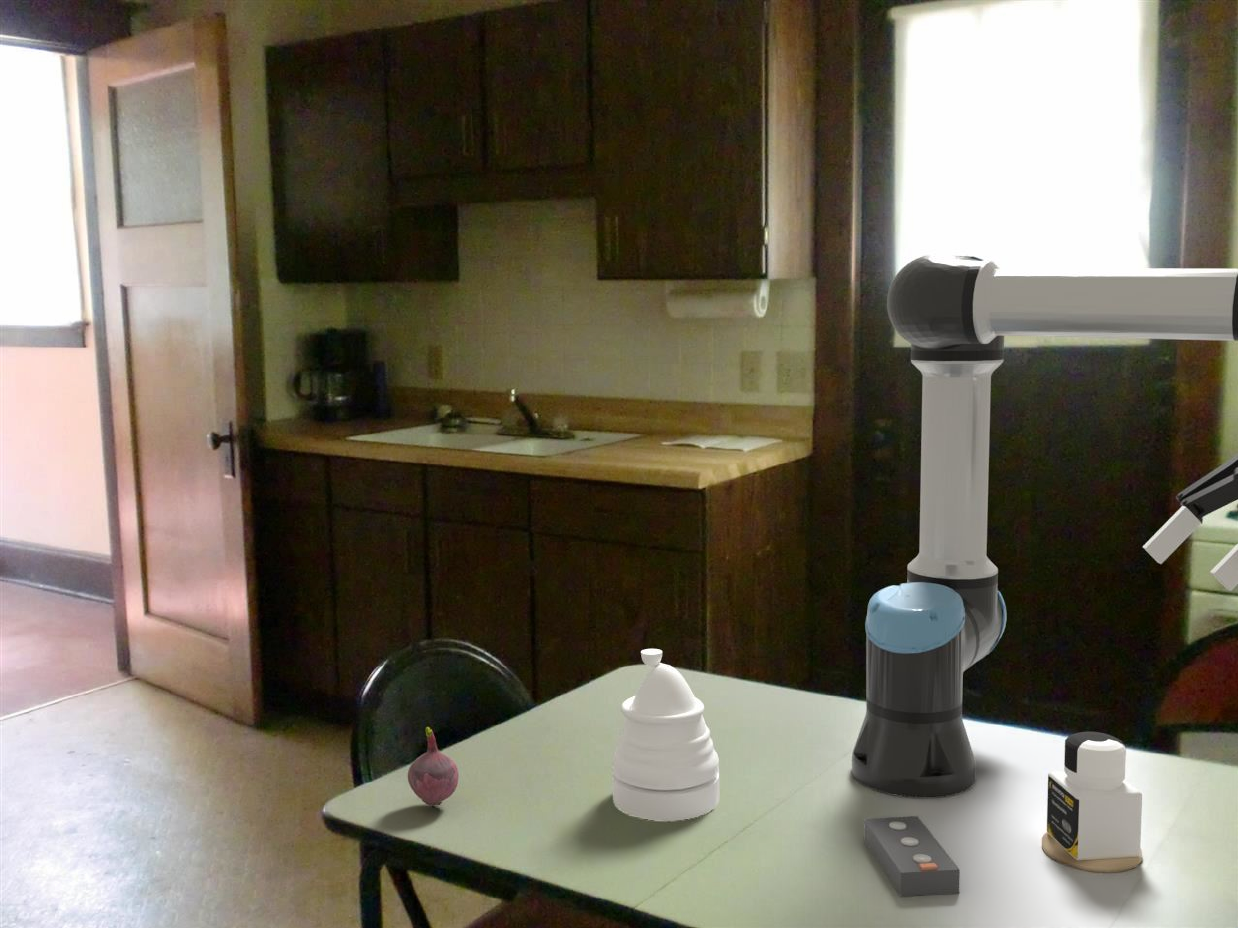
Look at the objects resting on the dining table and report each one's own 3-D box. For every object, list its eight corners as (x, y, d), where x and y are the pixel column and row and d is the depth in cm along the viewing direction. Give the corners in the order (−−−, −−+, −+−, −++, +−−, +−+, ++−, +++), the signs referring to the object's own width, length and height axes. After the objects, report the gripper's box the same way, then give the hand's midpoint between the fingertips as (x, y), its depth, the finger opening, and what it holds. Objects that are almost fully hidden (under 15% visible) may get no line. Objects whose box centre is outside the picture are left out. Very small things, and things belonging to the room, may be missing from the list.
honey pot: (590, 801, 145) (587, 656, 142) (660, 771, 154) (658, 634, 152) (672, 831, 136) (669, 677, 134) (741, 796, 145) (740, 652, 143)
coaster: (1029, 856, 128) (1030, 851, 128) (1056, 823, 136) (1056, 818, 136) (1129, 880, 122) (1129, 875, 122) (1151, 844, 130) (1151, 839, 130)
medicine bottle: (1045, 832, 132) (1048, 727, 130) (1107, 829, 133) (1110, 724, 131) (1075, 862, 125) (1079, 751, 123) (1141, 857, 126) (1145, 747, 124)
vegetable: (434, 793, 148) (430, 715, 147) (471, 804, 145) (468, 724, 143) (398, 810, 143) (394, 729, 142) (435, 821, 140) (432, 739, 138)
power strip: (864, 840, 132) (864, 815, 132) (917, 837, 133) (917, 813, 133) (900, 896, 120) (900, 869, 119) (959, 892, 120) (959, 866, 120)
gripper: (1431, 463, 118) (1278, 619, 118) (1273, 438, 142) (1147, 567, 143) (1383, 411, 116) (1228, 568, 117) (1233, 394, 141) (1106, 524, 142)
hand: (1183, 568), depth 130 cm, fingers open, 13 cm apart
